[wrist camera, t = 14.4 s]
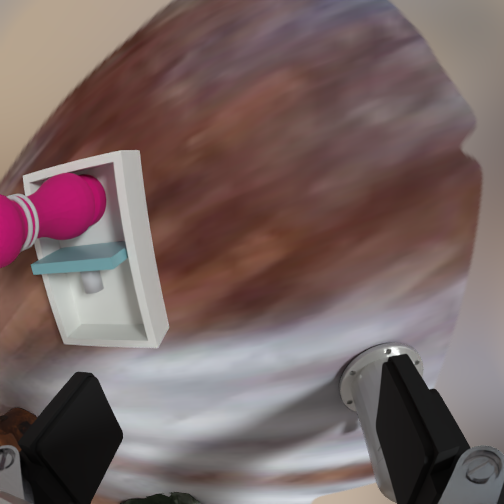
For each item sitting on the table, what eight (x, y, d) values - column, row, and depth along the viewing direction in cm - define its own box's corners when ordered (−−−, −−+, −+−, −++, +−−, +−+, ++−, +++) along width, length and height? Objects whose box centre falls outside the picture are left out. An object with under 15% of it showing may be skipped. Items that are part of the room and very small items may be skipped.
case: (79, 439, 49) (41, 501, 32) (56, 464, 55) (27, 513, 37) (11, 381, 47) (-38, 433, 30) (1, 417, 52) (-36, 460, 35)
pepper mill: (54, 206, 35) (-68, 252, 16) (79, 158, 33) (-53, 175, 14) (93, 241, 36) (-22, 311, 17) (121, 193, 34) (-4, 237, 15)
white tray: (169, 327, 40) (158, 348, 35) (80, 326, 41) (64, 344, 36) (139, 150, 34) (120, 150, 29) (46, 172, 35) (22, 175, 30)
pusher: (144, 278, 37) (121, 303, 31) (70, 282, 38) (41, 304, 31) (136, 239, 36) (111, 257, 29) (61, 247, 37) (30, 264, 30)
